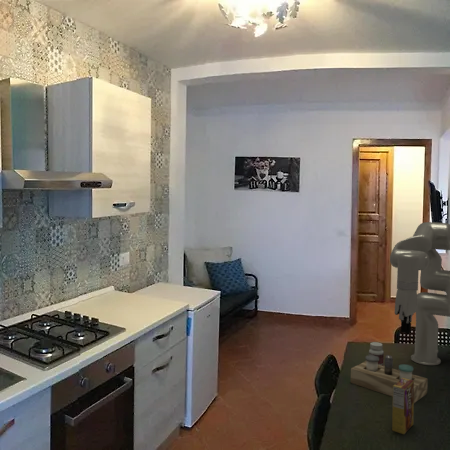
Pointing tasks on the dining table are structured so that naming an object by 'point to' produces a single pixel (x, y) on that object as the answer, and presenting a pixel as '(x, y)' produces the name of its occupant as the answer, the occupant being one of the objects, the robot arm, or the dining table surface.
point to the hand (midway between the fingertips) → (405, 332)
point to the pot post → (388, 365)
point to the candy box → (403, 405)
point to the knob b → (405, 371)
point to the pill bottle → (377, 351)
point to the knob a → (372, 363)
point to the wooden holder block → (385, 380)
